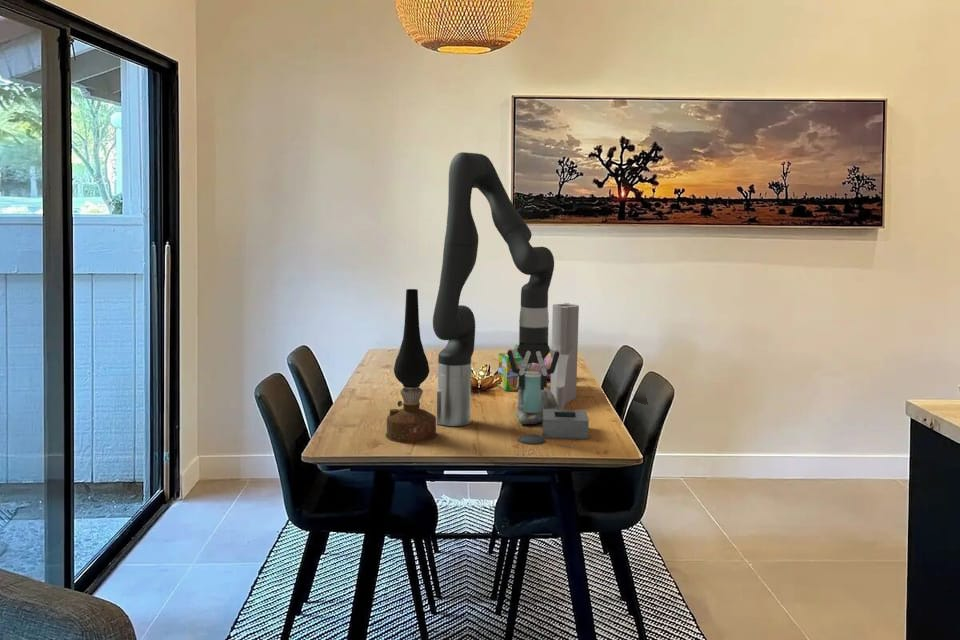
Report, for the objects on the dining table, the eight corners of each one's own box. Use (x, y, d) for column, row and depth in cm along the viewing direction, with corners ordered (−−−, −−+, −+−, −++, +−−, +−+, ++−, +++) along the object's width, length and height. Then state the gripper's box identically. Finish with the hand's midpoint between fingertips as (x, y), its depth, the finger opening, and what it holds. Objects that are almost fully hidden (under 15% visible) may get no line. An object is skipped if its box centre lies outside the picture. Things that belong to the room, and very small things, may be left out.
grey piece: (572, 411, 256) (575, 312, 252) (545, 409, 257) (547, 311, 253) (578, 386, 291) (581, 299, 287) (554, 385, 293) (556, 299, 289)
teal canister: (523, 412, 220) (524, 374, 218) (523, 408, 224) (524, 371, 223) (541, 413, 219) (541, 375, 218) (541, 408, 224) (541, 371, 223)
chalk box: (497, 386, 290) (497, 343, 288) (522, 384, 292) (523, 342, 291) (505, 391, 281) (506, 347, 279) (531, 390, 284) (532, 346, 282)
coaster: (517, 443, 220) (517, 441, 220) (518, 436, 227) (518, 434, 227) (544, 444, 219) (545, 442, 219) (544, 437, 226) (544, 435, 226)
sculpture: (512, 426, 238) (513, 373, 236) (524, 409, 258) (525, 360, 256) (551, 429, 236) (552, 376, 233) (559, 411, 256) (561, 362, 254)
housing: (542, 437, 226) (543, 419, 225) (542, 426, 238) (542, 408, 237) (588, 439, 225) (588, 420, 224) (585, 427, 237) (585, 410, 236)
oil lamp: (445, 449, 226) (479, 303, 222) (401, 449, 215) (436, 296, 212) (412, 432, 236) (445, 292, 232) (369, 432, 225) (402, 285, 221)
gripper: (505, 325, 216) (504, 391, 218) (562, 326, 215) (560, 392, 217) (506, 321, 223) (505, 385, 225) (561, 322, 222) (559, 386, 224)
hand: (532, 388), depth 221 cm, fingers closed on teal canister, 4 cm apart
